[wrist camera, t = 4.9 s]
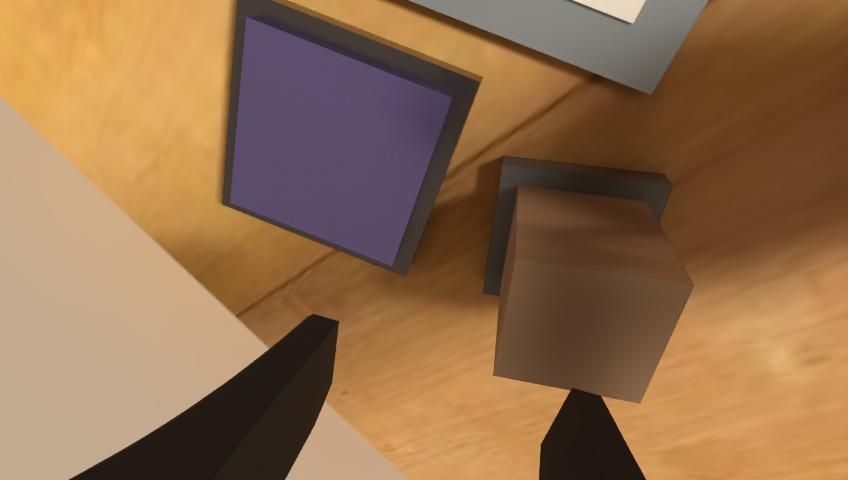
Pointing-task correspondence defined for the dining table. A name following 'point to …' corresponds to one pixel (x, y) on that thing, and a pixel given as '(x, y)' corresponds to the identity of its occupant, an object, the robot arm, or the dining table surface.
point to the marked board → (589, 31)
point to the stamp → (583, 277)
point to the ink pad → (339, 131)
